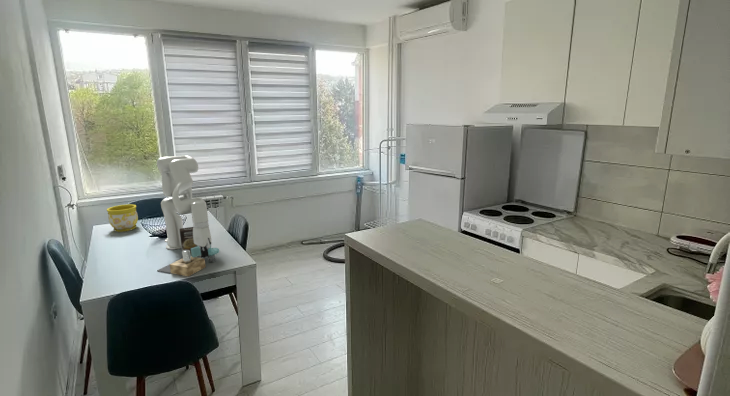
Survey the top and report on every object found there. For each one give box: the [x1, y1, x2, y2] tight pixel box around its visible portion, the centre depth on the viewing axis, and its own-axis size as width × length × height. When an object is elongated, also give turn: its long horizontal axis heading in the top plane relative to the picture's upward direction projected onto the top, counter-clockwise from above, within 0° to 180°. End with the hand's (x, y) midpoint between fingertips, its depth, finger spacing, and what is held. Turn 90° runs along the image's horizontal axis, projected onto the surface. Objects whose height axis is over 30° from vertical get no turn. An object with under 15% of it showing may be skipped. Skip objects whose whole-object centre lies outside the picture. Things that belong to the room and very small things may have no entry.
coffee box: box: [179, 226, 198, 257], centre depth 219 cm, size 9×6×16 cm
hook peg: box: [181, 250, 192, 264], centre depth 198 cm, size 4×4×11 cm
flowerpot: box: [106, 203, 139, 233], centre depth 268 cm, size 18×18×16 cm
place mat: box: [157, 263, 172, 274], centre depth 201 cm, size 9×9×1 cm
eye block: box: [170, 256, 206, 277], centre depth 199 cm, size 12×12×5 cm
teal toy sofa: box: [191, 244, 220, 263], centre depth 207 cm, size 16×9×11 cm, turn 148°
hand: (205, 256), depth 199 cm, fingers closed
